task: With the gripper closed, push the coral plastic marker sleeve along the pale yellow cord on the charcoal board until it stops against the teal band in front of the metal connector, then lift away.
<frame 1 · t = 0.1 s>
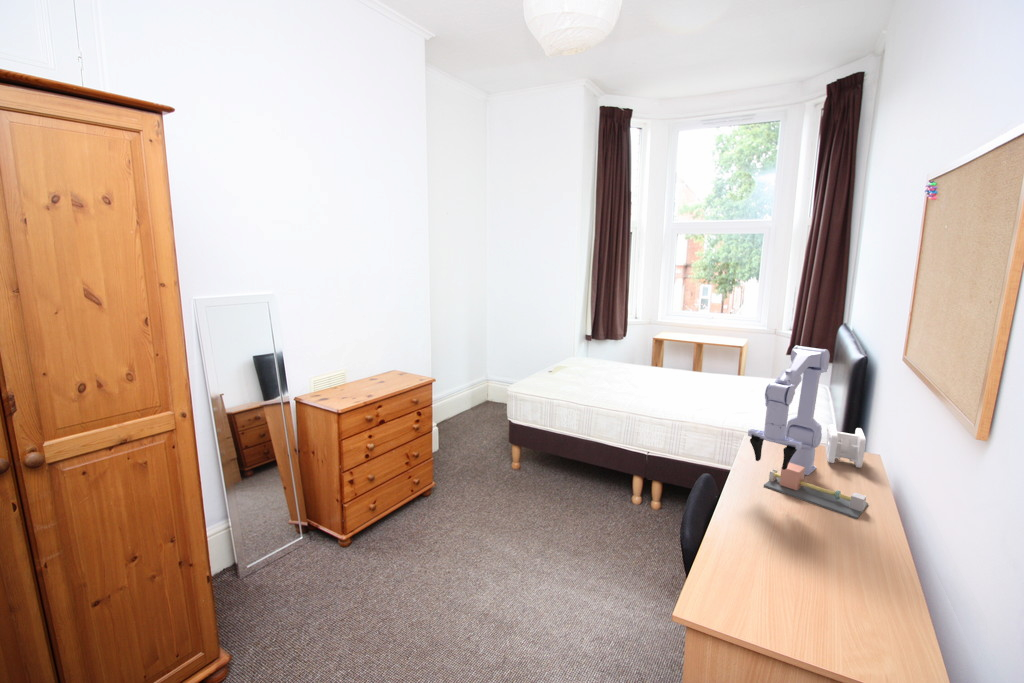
hand: (771, 464, 143), 10 cm above the table, tool pointing down, fingers open, 7 cm apart
cable organizer: (841, 461, 170), on the table
marker sleeve: (792, 476, 148), point 4 cm above the table, slide at 0.0 cm
cord rig: (812, 494, 145), on the table
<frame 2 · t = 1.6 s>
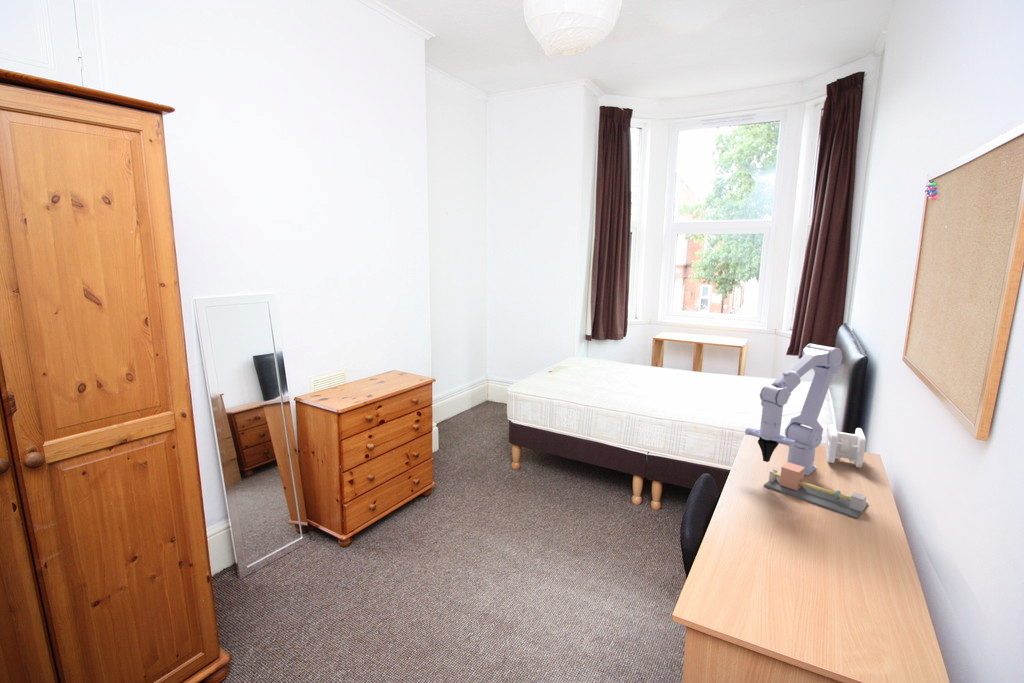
hand: (766, 460, 154), 6 cm above the table, tool pointing down, fingers closed
nothing on the table moved.
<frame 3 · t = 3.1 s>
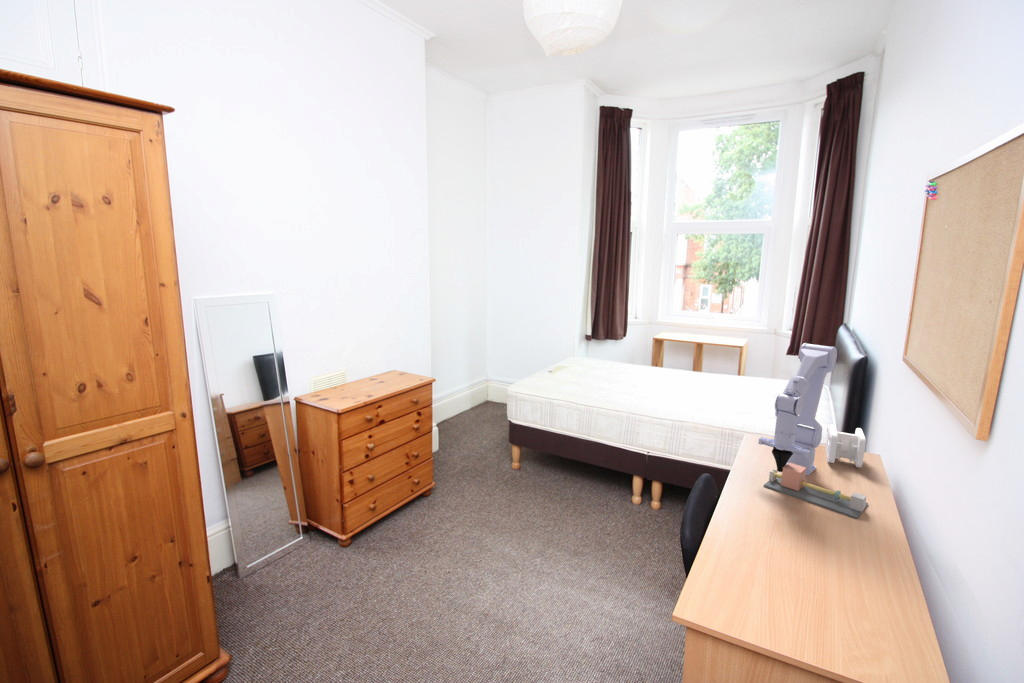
hand: (780, 470, 151), 4 cm above the table, tool pointing down, fingers closed
marker sleeve: (793, 476, 148), point 4 cm above the table, slide at 0.4 cm, touching gripper
everything else where it was.
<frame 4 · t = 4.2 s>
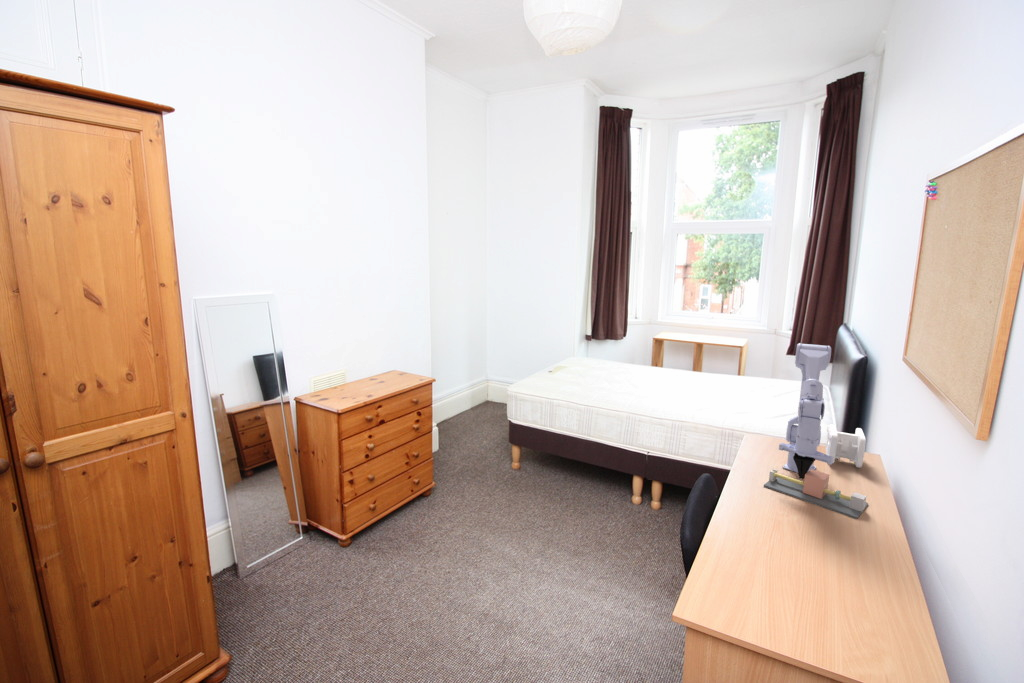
hand: (802, 477, 146), 4 cm above the table, tool pointing down, fingers closed
marker sleeve: (815, 483, 144), point 4 cm above the table, slide at 6.6 cm, touching gripper
everything else where it was.
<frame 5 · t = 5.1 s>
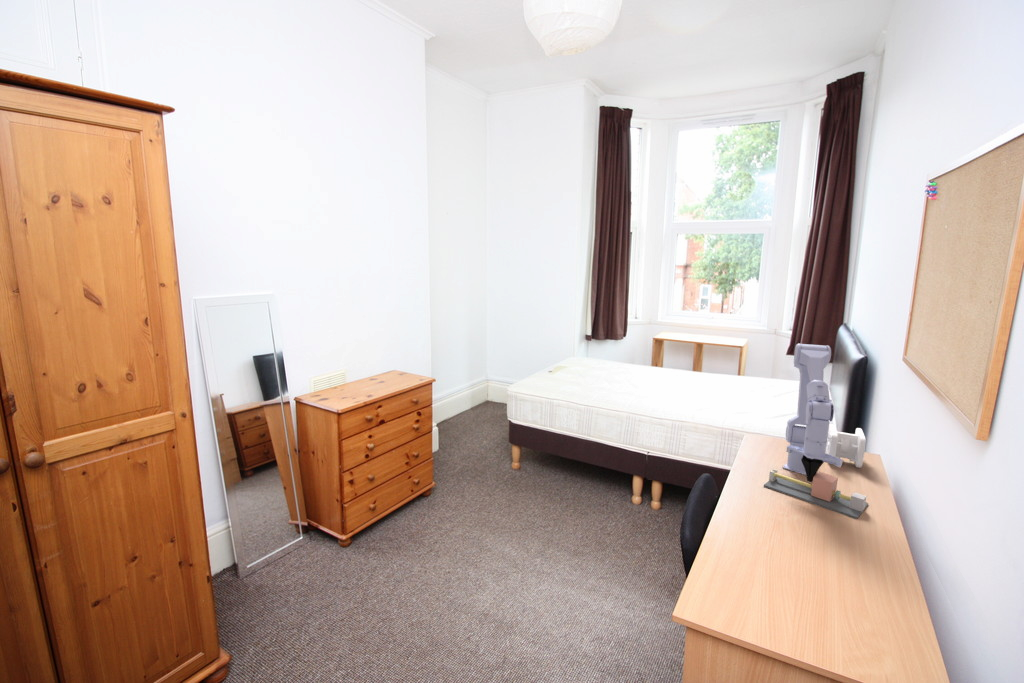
hand: (810, 480, 145), 4 cm above the table, tool pointing down, fingers closed
marker sleeve: (824, 486, 142), point 4 cm above the table, slide at 8.9 cm, touching gripper
everything else where it was.
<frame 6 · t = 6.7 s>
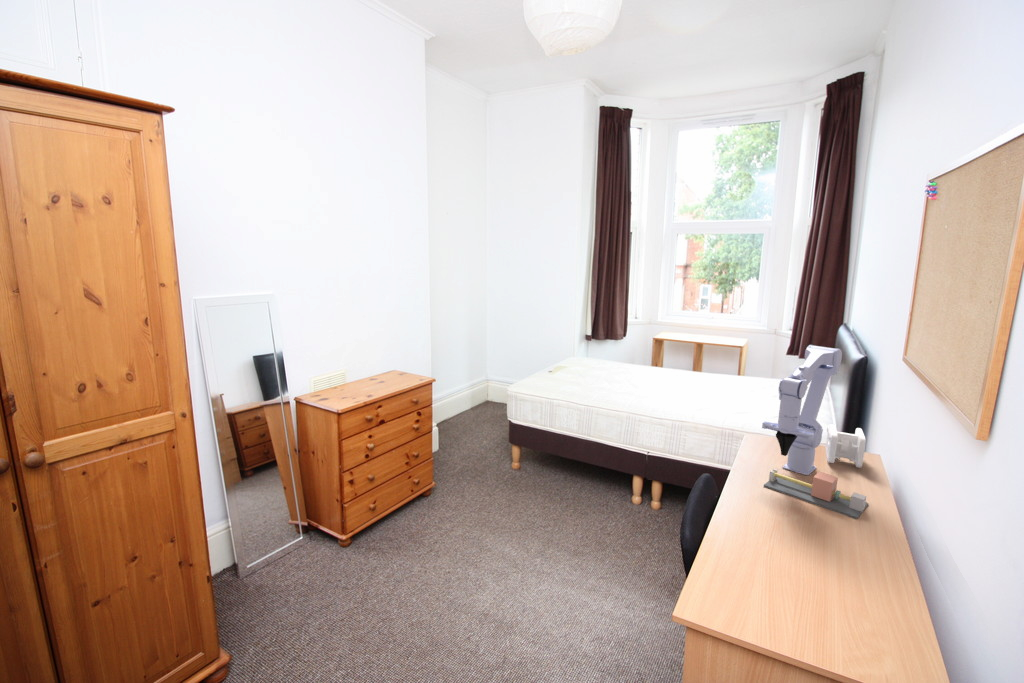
hand: (784, 454, 152), 9 cm above the table, tool pointing down, fingers closed
marker sleeve: (824, 486, 142), point 4 cm above the table, slide at 8.9 cm
everything else where it was.
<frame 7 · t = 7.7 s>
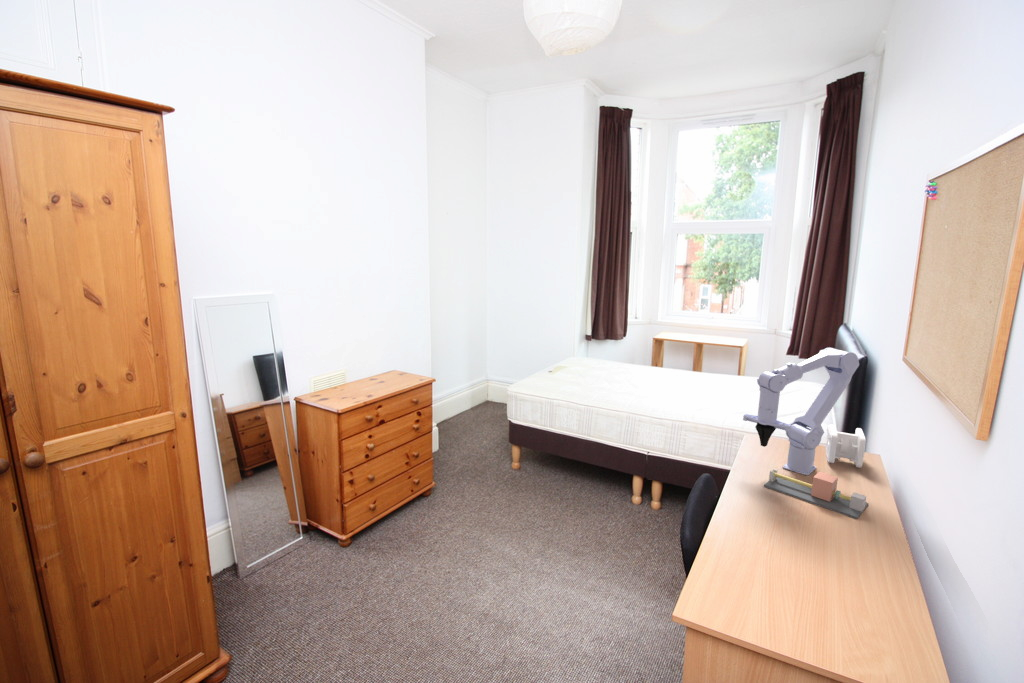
hand: (763, 445, 159), 9 cm above the table, tool pointing down, fingers closed
nothing on the table moved.
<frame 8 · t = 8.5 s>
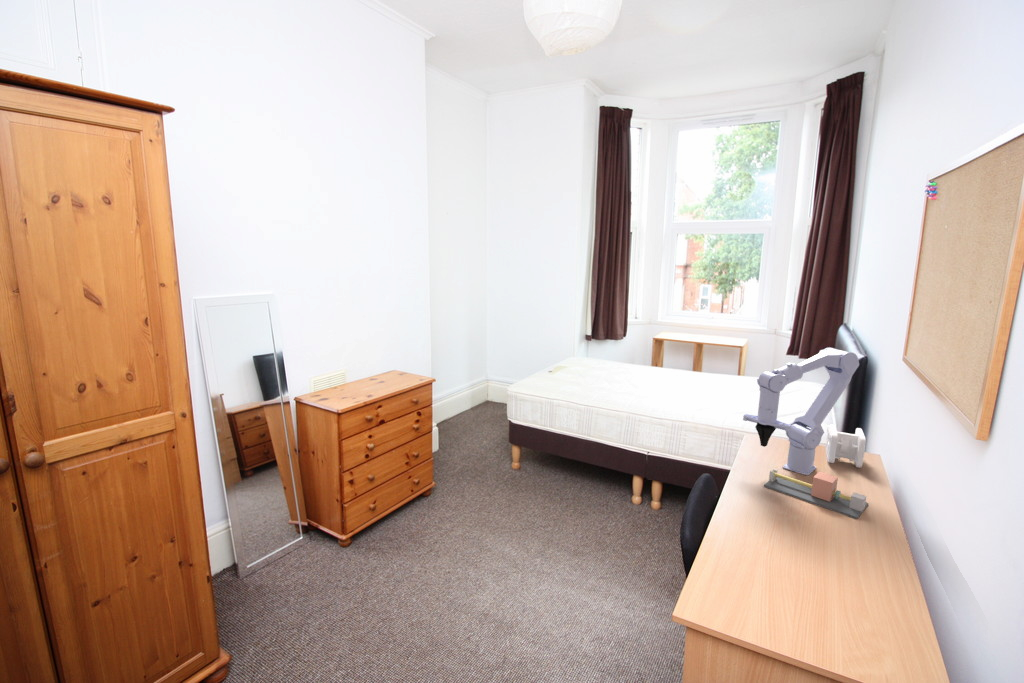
hand: (763, 445, 159), 9 cm above the table, tool pointing down, fingers closed
nothing on the table moved.
at the end: marker sleeve slide at 8.9 cm; cable organizer moved 0.3 cm from its start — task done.
